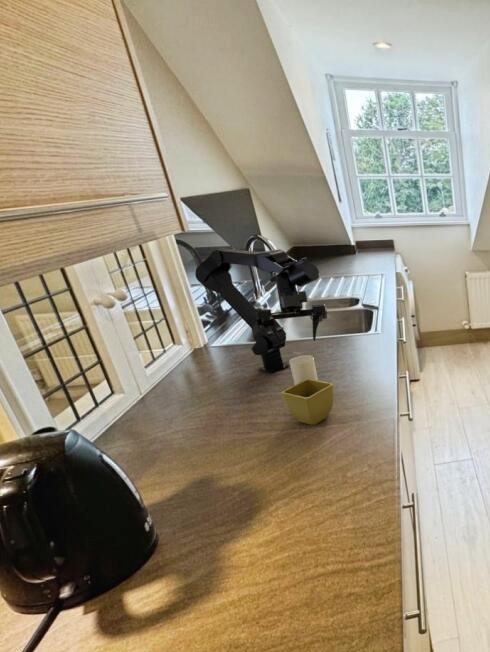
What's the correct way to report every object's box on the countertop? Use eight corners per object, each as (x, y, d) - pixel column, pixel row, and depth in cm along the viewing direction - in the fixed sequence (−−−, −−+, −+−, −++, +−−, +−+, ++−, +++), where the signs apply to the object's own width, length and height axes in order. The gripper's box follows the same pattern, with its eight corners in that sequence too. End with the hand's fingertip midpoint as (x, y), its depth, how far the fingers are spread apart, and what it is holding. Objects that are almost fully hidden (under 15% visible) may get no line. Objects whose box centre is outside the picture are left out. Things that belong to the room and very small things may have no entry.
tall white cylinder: (294, 404, 123) (284, 360, 118) (314, 396, 128) (304, 353, 122) (307, 410, 120) (297, 365, 115) (327, 401, 124) (318, 357, 119)
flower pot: (339, 414, 117) (333, 383, 114) (314, 431, 110) (307, 398, 106) (314, 408, 121) (307, 378, 117) (288, 424, 113) (280, 392, 110)
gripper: (249, 283, 122) (259, 339, 120) (322, 278, 129) (332, 330, 127) (254, 298, 132) (262, 350, 130) (321, 292, 139) (330, 341, 137)
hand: (297, 342), depth 131 cm, fingers open, 9 cm apart
